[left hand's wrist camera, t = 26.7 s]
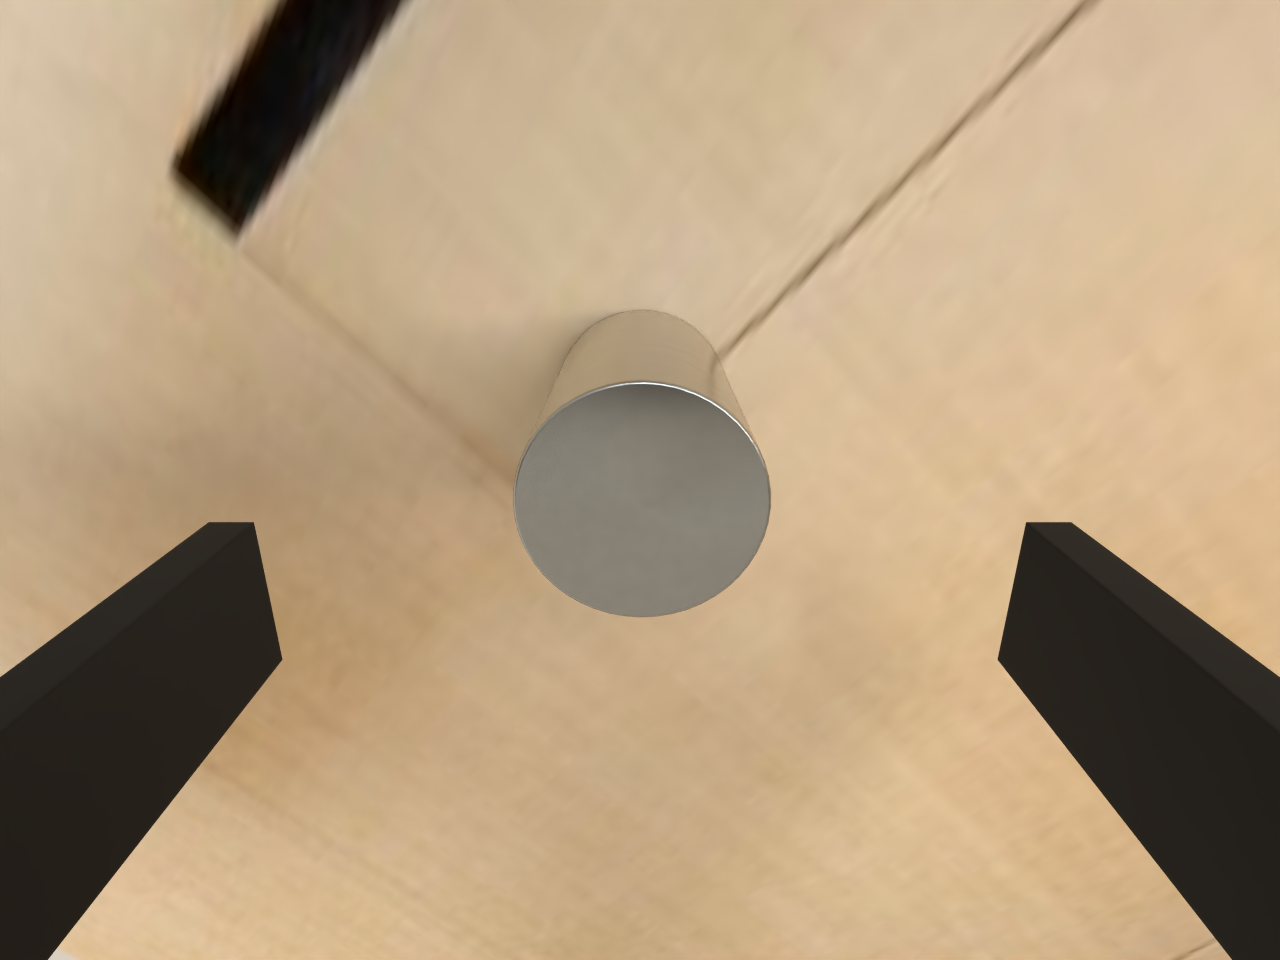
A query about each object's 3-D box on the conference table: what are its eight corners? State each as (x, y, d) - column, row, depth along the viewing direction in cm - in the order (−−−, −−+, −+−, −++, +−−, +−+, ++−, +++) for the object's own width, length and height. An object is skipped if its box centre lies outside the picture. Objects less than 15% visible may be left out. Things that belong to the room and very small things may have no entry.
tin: (720, 472, 24) (761, 620, 16) (561, 470, 24) (519, 617, 16) (730, 310, 23) (781, 382, 14) (556, 308, 22) (505, 379, 14)
